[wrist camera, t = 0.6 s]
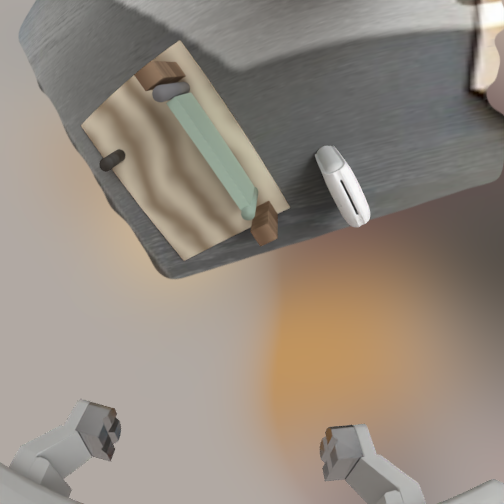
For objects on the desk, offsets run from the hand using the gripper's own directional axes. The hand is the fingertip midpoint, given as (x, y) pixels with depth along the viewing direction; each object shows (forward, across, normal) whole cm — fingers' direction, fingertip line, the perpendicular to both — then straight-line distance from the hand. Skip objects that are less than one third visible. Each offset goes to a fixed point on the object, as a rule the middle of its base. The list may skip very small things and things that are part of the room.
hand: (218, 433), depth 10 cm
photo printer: (+44, -15, -7) cm, 47 cm away
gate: (+42, +5, -11) cm, 44 cm away
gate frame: (+45, +12, -7) cm, 47 cm away
